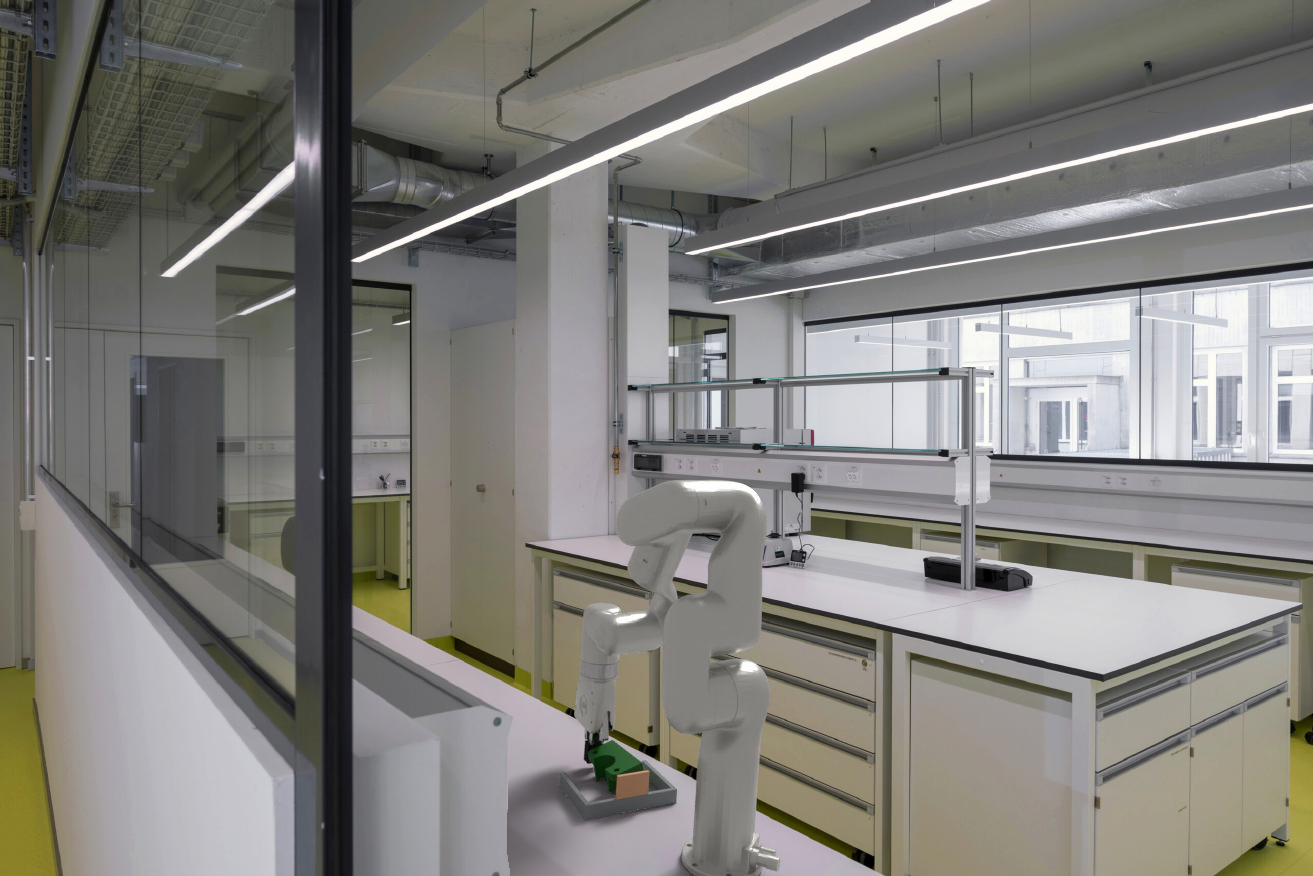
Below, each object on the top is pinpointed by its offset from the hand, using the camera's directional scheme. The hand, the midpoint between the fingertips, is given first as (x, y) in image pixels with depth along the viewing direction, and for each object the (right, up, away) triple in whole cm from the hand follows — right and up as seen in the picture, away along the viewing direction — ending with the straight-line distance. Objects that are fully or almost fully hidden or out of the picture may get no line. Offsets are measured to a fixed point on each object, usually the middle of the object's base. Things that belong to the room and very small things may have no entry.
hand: (592, 761), depth 152 cm
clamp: (+5, -2, -6) cm, 8 cm away
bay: (+5, -2, -10) cm, 12 cm away
